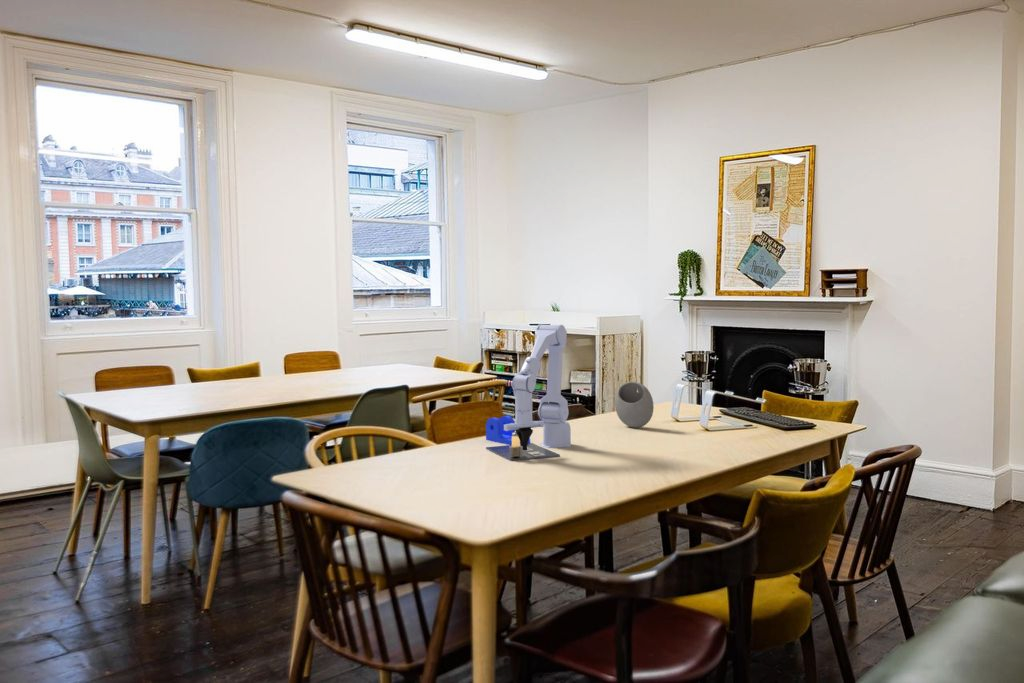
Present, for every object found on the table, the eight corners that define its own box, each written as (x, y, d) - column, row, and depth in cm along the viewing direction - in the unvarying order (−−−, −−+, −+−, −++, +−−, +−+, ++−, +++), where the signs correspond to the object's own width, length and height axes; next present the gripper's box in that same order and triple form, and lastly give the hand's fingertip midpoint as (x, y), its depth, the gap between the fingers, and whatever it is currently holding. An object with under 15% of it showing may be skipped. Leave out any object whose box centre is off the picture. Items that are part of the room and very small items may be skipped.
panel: (531, 445, 298) (531, 430, 298) (559, 457, 278) (559, 441, 277) (485, 449, 291) (485, 434, 291) (510, 462, 271) (510, 445, 270)
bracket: (486, 440, 309) (485, 417, 308) (502, 438, 314) (502, 414, 314) (518, 447, 296) (517, 423, 295) (535, 444, 301) (535, 420, 300)
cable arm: (509, 444, 292) (509, 436, 292) (521, 444, 292) (521, 436, 292) (509, 456, 272) (509, 447, 272) (522, 456, 272) (522, 447, 272)
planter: (610, 426, 339) (610, 380, 338) (620, 423, 345) (620, 379, 343) (647, 431, 327) (648, 384, 325) (657, 429, 332) (658, 382, 330)
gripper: (535, 406, 285) (536, 445, 286) (499, 410, 278) (499, 450, 279) (546, 409, 279) (547, 449, 280) (509, 413, 272) (509, 453, 273)
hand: (524, 449), depth 279 cm, fingers closed
